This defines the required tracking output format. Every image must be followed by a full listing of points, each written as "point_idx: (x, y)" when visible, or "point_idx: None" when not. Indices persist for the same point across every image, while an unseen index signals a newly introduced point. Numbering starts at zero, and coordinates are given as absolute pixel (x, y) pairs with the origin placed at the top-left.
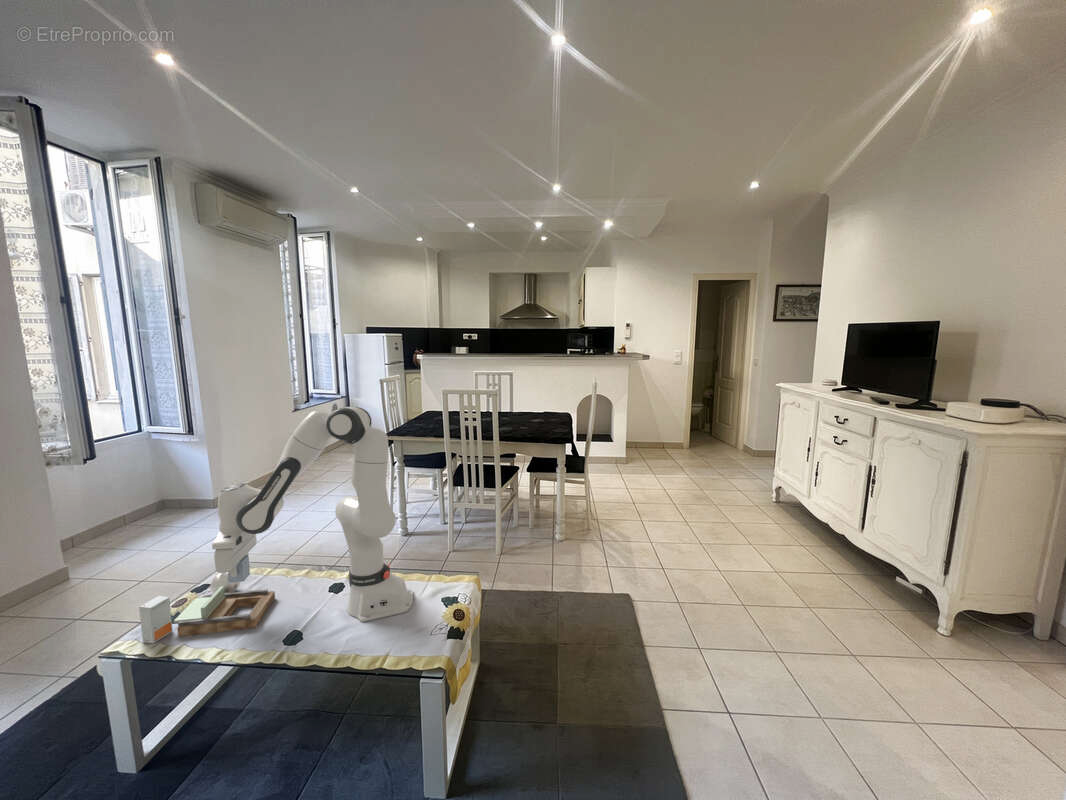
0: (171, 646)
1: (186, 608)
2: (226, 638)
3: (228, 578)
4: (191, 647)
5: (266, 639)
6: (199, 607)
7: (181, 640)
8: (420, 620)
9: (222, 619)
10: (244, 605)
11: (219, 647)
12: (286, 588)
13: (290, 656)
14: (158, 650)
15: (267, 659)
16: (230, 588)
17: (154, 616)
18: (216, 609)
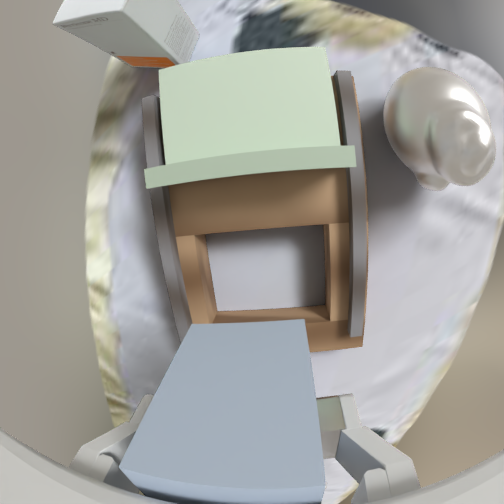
0: (115, 128)
1: (243, 54)
2: (145, 277)
3: (182, 344)
4: (108, 195)
5: (152, 375)
6: (246, 104)
7: (138, 136)
8: None
9: (163, 259)
10: (325, 245)
11: (112, 277)
12: (407, 335)
13: (120, 416)
14: (104, 106)
15: (104, 387)
16: (404, 160)
17: (87, 38)
18: (253, 176)
